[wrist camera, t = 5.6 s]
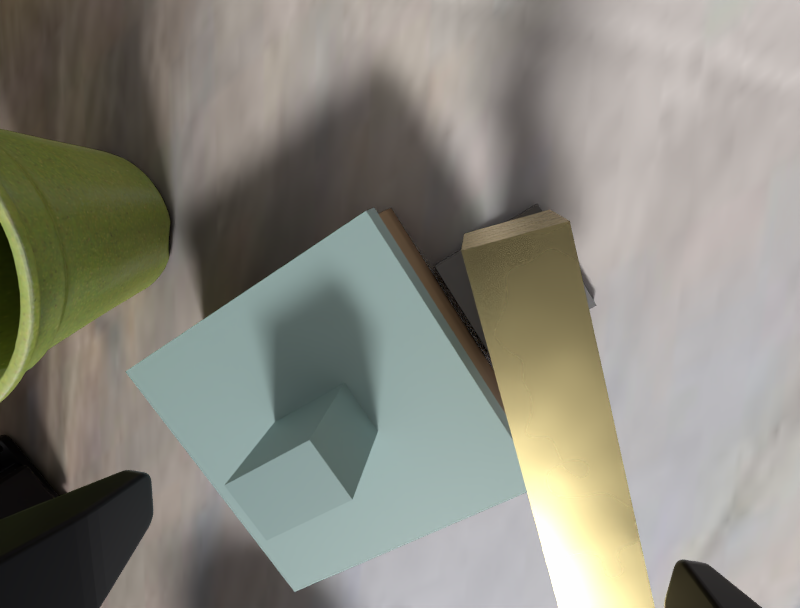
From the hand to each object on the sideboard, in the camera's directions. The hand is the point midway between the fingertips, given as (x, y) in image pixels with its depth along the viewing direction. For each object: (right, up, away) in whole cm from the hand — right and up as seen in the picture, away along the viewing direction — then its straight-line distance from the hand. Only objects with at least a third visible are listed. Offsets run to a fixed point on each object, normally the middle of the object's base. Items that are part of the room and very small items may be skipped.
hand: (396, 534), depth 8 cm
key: (+4, +5, +11) cm, 12 cm away
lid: (-2, 0, +9) cm, 10 cm away
